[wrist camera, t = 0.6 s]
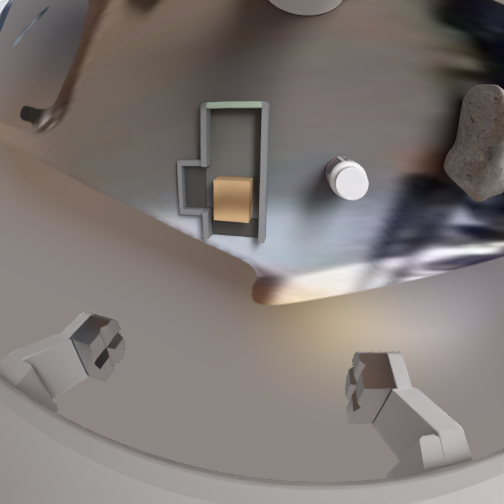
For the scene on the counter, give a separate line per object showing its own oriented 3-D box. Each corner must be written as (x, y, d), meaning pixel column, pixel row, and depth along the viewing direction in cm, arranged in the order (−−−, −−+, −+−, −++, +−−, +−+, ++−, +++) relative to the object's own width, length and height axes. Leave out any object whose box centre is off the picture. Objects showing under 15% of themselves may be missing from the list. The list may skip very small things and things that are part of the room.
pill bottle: (330, 192, 47) (337, 209, 38) (320, 161, 45) (325, 170, 37) (361, 183, 46) (376, 198, 37) (352, 152, 44) (365, 158, 35)
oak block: (219, 175, 49) (213, 179, 46) (253, 177, 49) (249, 181, 45) (219, 213, 52) (213, 220, 49) (252, 215, 52) (248, 222, 48)
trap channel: (179, 105, 45) (173, 104, 42) (269, 102, 43) (268, 101, 40) (184, 231, 55) (179, 236, 53) (265, 237, 53) (263, 242, 51)
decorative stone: (469, 196, 42) (431, 177, 43) (494, 106, 33) (456, 81, 34) (518, 228, 28) (478, 204, 28) (549, 111, 19) (509, 75, 19)
